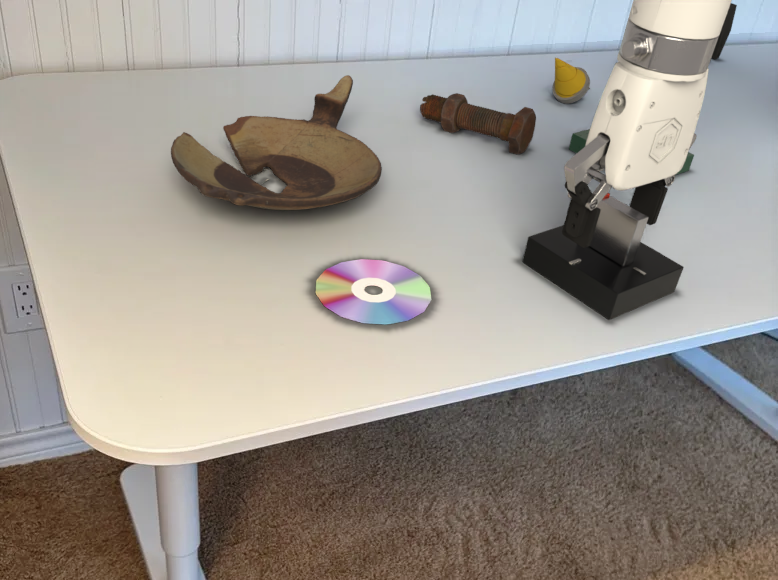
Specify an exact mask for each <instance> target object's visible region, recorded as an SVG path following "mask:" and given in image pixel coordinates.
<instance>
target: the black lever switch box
mask: <svg viewBox="0 0 778 580" xmlns="http://www.w3.org/2000/svg"><path fill="white" fill-rule="evenodd" d="M563 226H564V224H562V225H559V226H555V227H553V228H550V229H547V230H544V231H541V232H539V233H535V234H533V235H529V236H528V237H527V241H526V245H525V248H524V254H523V258H522V263H523V264H525V265H526V266H528V267H529V268H531V269H532V270H534V271H535V272H537V273H538V274H540V275H541V276H542V277H544V278H546V279H547V280H549V281H550V282H551V283H553V284H554V285H556V286H558V287H559V288H560V289H562V290H563V291H565V292H566V293H568V294H570V295H571V296H573V297H574V298H576V300H578V301H580V302H581V303H583V304H584V305H586V306H588V307H589V308H590V309H592V310H593V311H594V312H596V313H598V314H599V315H601V316H602V317H604V318H605V319H607V320H608V321H610V320H613V319H615V318H618V317H620V316H622V315H625V314H627V313H629V312H631V311H634V310H636V309H638V308H641V307H643V306H645V305H648V304H650V303H652V302H654V301H657V300H659V299H661V298H664V297H666V296H669V295H671V294H674V293H675V291H676V289H677V286H678V283H679V281H680V278H681V277H682V273H683V271H684V268H685V267H684V266H683V265H682V264H680V263H678V262H676V261H674V260H673V259H671V258H669V257H667V256H666V255H664V254H663V253H661V252H659V251H657V250H656V249H653V247H650V246H649V245H648V244H645V243H643V242H642V241H641V242H640V245H639V248H638V251H637V254H636V257H635V260H634V262H633V263H631V264H629V265H626V266H624V267H623V266H621V265H619V264H618V263H616V262H615V261H613V260H611V259H610V258H608V257H606V256H605V255H603V254H601V253H600V252H598V251H597V250H595V249H593V248H592V247H590V246H589V247H586V248H583V247H581V246H579V245H578V244H576V243H575V242H573V241H571V240H570V239H568V238H567V237H565V236H564V235H563V234H562V229H563Z"/></svg>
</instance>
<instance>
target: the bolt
mask: <svg viewBox="0 0 778 580" xmlns="http://www.w3.org/2000/svg"><path fill="white" fill-rule="evenodd" d="M421 100H422V102H423V103H421V104H420V105H419V112H420V113H421V116H422V118H424V119H427V120H430V121H433V122H437V123H440V126H441V128H442V129H443V131H444V132H446V133H450V134H454V133H457V132H459V131H460V130H461V129H462V130H465V131H470V132H474V133H477V134H481V135H484V136H487V137H493V138H496V139H498V140H501V141H503V142H506V143H508V152H509V153H510V154H513V155H521V154H523V153H525V152H526V150H527V149H528V147H529V146H530V144H531V142H532V140H533V137H534V133H535V129H536V122H537V115H536V112H535V110H534V109H533V108H531V107H527V106H524V107H522V108H521V109H520V110H518V111H516V113H511V112H507V113H506V112H503V111H498V110H496V109H491V108H487V107H484V106H479V105H475V104H471V103H469V102H468V98H467V97H466V96H465V94H462V93H458V92H456V93H452V94H449V95H448V96H447V97H446V96H445V97H444V96H441V95H436V94H433V93H432V94H428V95H427V96H423V97H422V99H421Z"/></svg>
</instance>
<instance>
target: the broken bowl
mask: <svg viewBox="0 0 778 580" xmlns="http://www.w3.org/2000/svg"><path fill="white" fill-rule="evenodd" d="M353 85H354V80H353V77H352V75H349V74H347V75H344V76H342V77H341V78H340V79H339V81H338V82H337V83H336V85H335V86H334V87H333V88H332V89H331V90H330V91H328V92H326V93H317V94H315V95H314V98H313V100H314V105H313V110H312V116H311V118H310V119H309V120H306V119H297V118H295V119H294V118H284V117H278V116H261V115H245V116H240V117H237V118H236V120H235V121H234V122H233V123H230V124H226V125H223V128H222V129H223V131H224V133H225V137H226V140H227V141H228V142H229V145H230V147H231V150H232V151H233V153H234V156H235V158H236V159H237V161H238V163H239V166H240V167H241V168H242V170H243V172H244V173H242V171H241V170H239V169H237V168H235V167H234V166H233V165H231V164H230V163H227V162H226V161H224V160H222V159H221V158H220V157H218V156H216V155H214V154H212V153H211V151H210V150H209V149H208V148H206V147H205V146H204V145H202V144H201V143H199V142H198V140H197V139H196V138H194V136H192V135H191V134H190V133H188V132H186V131H183V132H182V133H181V135H178V136H176V138H175V139H174V140H173V142H172V144H171V147H170V158H171V161H172V164H173V166H174V168H175V169H176V170H177V172H178V174H180V175H181V177H182V178H183V179H184V180H186V181H187V182H188V183H189V184H191V185H193V186H194V187H196V188H197V189H198V191H199V193H200V194H201V195H202V196H205V197H207V198H214V199H219V200H223V201H228V202H230V203H232V204H234V205H236V206H248V207H254V208H257V209H258V208H259V209H264V210H271V211H272V210H275V211H276V210H277V211H298V210H308V209H315V208H323V207H326V206H332V205H337V204H340V203H343V202H344V203H345V202H347V201H350V200H354V199H356V198H358V197H360V196H362V195H364V194H366V193H367V192H368V191H370V190H372V188H374V187H375V186H377V184H378V183H379V181H380V179H381V176H382V169H383V167H382V162H381V160H380V158H379V157H378V155H377V154H376V153H375V152H374V151H373V150H372V149H371V148H370V147H369V146H368V145H367V144H365V142H363V141H362V140H360V139H358V138H357V137H355V136H353V135H350V134H349V133H346V132H344V131H342V130H340V129H338V125H339V122H340V121H341V118H342V116H343V113H344V111H345V109H346V105H347V104H348V101H349V99H350V96H351V92H352V89H353ZM266 167H268V168H270V170H271V171H272V173H273V174H274V175H275V176H276V177H277V178H278V179H280V180H281V181H282V182H283V183H285V184H286V186H285V187H284V188H283V190H282V191H281V192H275V191H272V190H271V189H269V188H268V187H266V186H263V184H264V183H265V182H267V181H268V180H270V178H266V179H265V180H264V181H263V182H262V183H261V184H262V185H261V184H260V183H258V182H257V181H255V180H254V179H252V178H251V177H250V176H252V175H257V174H258V173H260V172H263V171H264V169H265V168H266Z"/></svg>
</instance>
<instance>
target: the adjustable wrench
mask: <svg viewBox="0 0 778 580" xmlns="http://www.w3.org/2000/svg"><path fill="white" fill-rule="evenodd" d="M737 8H738V5H737V4H735V3H733V2H731V4H730V7H729V9H728V12H727V15H726V18H725V21H724V23H723V26H722V29H721V32H720V35H719V37H718V40H717V43H716V46H715V49H714V52H713V54H712V57H711V59H714V60H719V58H720V56H721V54H722V52H723V49H724V47H725V45H726V43H727V40H728V38H729V36H730V34H731V32H732V28H733V24H734V20H735V15H736V12H737Z"/></svg>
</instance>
